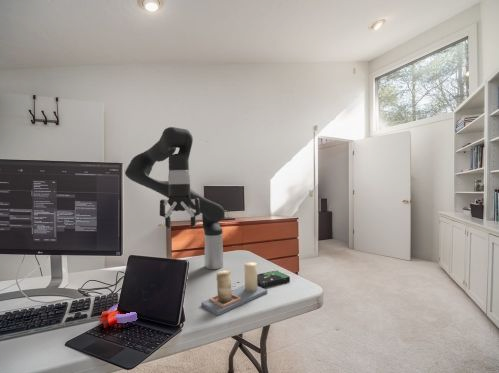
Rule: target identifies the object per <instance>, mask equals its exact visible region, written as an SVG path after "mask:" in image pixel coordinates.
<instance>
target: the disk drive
mask: <svg viewBox="0 0 499 373" xmlns="http://www.w3.org/2000/svg"><path fill="white" fill-rule="evenodd" d="M290 282H291V277H290V276H289V275H287V274H285V273H284V272H281V271H279V270H272V271H267V272H263V273H257V286H259V287H261V288H264V289H266V288H270V287H273V286H277V285H283V284H286V283H290Z"/></svg>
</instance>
